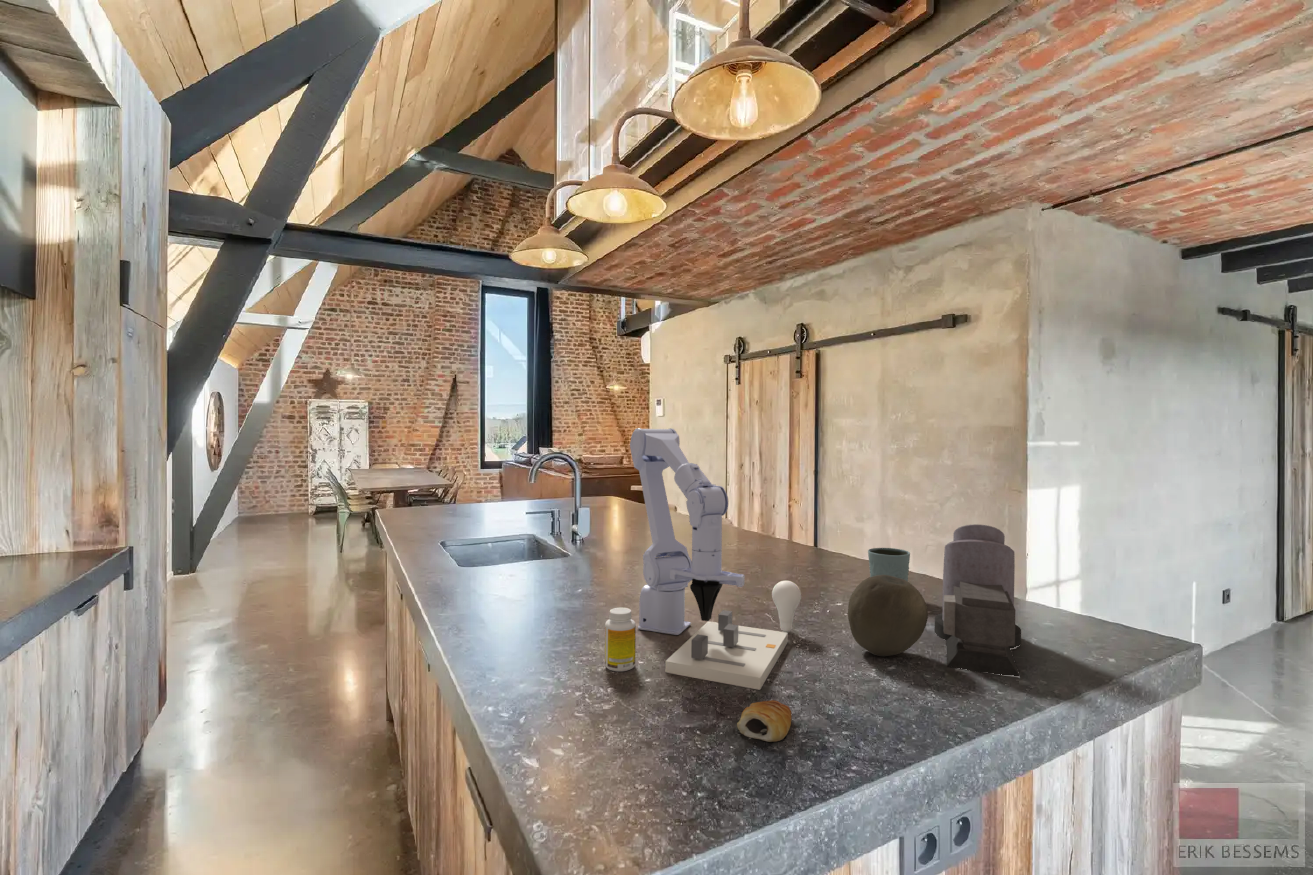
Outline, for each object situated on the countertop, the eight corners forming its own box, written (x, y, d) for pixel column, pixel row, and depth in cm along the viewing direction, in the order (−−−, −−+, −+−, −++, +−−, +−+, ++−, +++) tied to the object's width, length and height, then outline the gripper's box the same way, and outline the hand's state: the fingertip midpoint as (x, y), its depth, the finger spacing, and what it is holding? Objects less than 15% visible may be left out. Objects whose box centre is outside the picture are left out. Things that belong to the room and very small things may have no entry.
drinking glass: (915, 603, 149) (916, 555, 149) (875, 602, 149) (876, 554, 149) (899, 592, 159) (900, 547, 159) (862, 591, 160) (862, 546, 159)
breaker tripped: (723, 645, 112) (723, 628, 112) (728, 640, 115) (728, 623, 115) (733, 647, 111) (733, 630, 111) (738, 641, 114) (738, 625, 114)
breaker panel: (665, 672, 106) (665, 660, 106) (708, 630, 128) (708, 620, 128) (759, 689, 99) (760, 677, 99) (787, 642, 121) (787, 632, 121)
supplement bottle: (640, 669, 107) (640, 612, 107) (611, 674, 104) (611, 616, 104) (628, 658, 112) (628, 604, 112) (600, 663, 109) (600, 608, 109)
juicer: (934, 618, 137) (936, 513, 137) (1015, 629, 130) (1017, 518, 130) (934, 665, 110) (936, 533, 110) (1035, 681, 103) (1038, 541, 103)
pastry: (760, 709, 93) (761, 684, 92) (802, 721, 89) (803, 696, 89) (734, 734, 85) (734, 708, 85) (779, 749, 81) (779, 722, 81)
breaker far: (718, 630, 121) (718, 614, 121) (722, 625, 124) (722, 609, 124) (727, 631, 120) (727, 615, 120) (732, 626, 123) (732, 611, 123)
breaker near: (691, 657, 106) (691, 639, 106) (697, 651, 109) (697, 634, 109) (702, 659, 105) (702, 641, 105) (707, 653, 108) (707, 635, 108)
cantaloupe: (889, 673, 106) (890, 589, 106) (831, 647, 118) (833, 572, 118) (942, 660, 112) (943, 581, 112) (882, 636, 125) (883, 565, 125)
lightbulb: (801, 638, 123) (801, 585, 123) (771, 635, 125) (771, 583, 124) (800, 628, 129) (800, 578, 129) (771, 626, 131) (772, 576, 130)
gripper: (664, 549, 114) (663, 620, 114) (737, 556, 108) (737, 630, 108) (677, 543, 121) (677, 610, 121) (747, 549, 115) (747, 619, 115)
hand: (706, 619), depth 115 cm, fingers closed
